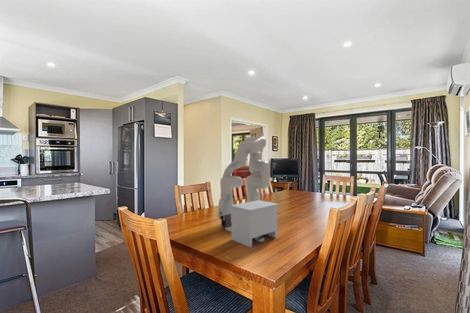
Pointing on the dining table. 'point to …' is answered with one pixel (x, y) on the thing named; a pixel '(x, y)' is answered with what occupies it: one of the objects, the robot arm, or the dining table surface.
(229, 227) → the blade tool
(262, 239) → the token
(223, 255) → the dining table surface
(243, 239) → the cabinet
